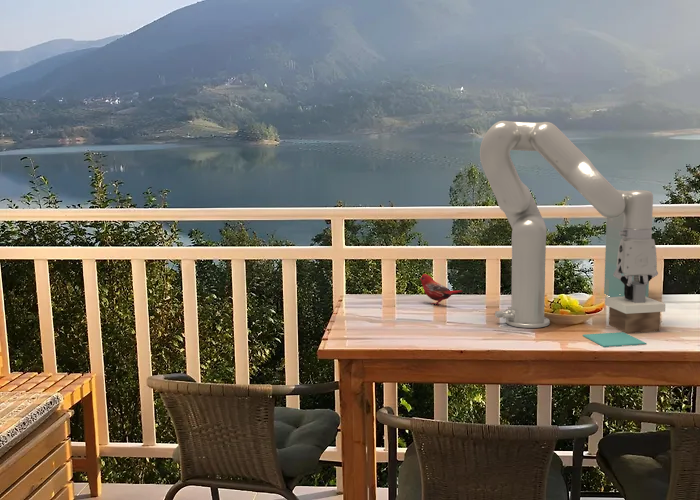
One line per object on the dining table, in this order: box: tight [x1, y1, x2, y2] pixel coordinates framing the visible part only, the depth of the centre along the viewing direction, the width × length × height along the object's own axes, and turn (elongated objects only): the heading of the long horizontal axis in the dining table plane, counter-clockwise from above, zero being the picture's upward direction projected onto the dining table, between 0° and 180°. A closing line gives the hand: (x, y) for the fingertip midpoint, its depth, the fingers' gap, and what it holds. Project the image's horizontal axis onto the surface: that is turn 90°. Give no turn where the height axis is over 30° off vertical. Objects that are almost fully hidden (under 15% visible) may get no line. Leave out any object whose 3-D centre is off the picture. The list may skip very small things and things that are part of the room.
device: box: [603, 214, 650, 298], centre depth 260 cm, size 16×8×30 cm, turn 7°
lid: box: [604, 281, 666, 314], centre depth 222 cm, size 12×12×7 cm
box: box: [608, 306, 661, 334], centre depth 223 cm, size 10×10×7 cm
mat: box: [582, 331, 647, 348], centre depth 210 cm, size 12×12×1 cm
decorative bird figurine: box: [419, 273, 463, 306], centre depth 255 cm, size 3×18×10 cm, turn 46°
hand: (634, 298), depth 222 cm, fingers closed on lid, 3 cm apart
